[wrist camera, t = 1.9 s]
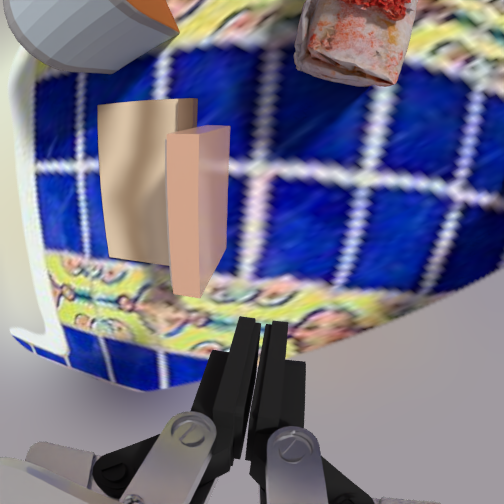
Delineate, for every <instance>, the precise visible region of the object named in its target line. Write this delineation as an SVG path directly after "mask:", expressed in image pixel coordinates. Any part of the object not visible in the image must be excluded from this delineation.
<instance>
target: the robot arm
mask: <svg viewBox="0 0 504 504" xmlns="http://www.w3.org/2000/svg"><path fill="white" fill-rule="evenodd" d="M260 330H261V323H255V318H248V317H241V316H240V317H239V320H238V323H237V327H236V330H235V334H234V337H233V341H232V344H231V348H230V351H229V352H223V351H217V350H212V352H211V354H210V357H209V360H208V363H207V366H206V368H205V371H204V374H203V377H202V380H201V383H200V386H199V388H198V391H197V394H196V397H195V400H194V403H193V406H192V408H191V411H190V412H182V413H179V414H177V415H175V416H174V417H172V418H171V419H170V420H169V421H168V423H167V424H166V426H165V428H164V429H163V431H162V432H161V434H158V435H156V436H154V437H151V438H149V439H146V440H143V441H141V442H138V443H136V444H133V445H130V446H128V447H125V448H122V449H119V450H117V451H114V452H111V453H108V454H106V455H104V456H100V455H95V454H94V452H89V451H84V450H79V449H74V448H70V447H65V446H61V445H56V444H52V443H48V442H38V443H35V444H34V445H32V446H31V447H30V449H29V451H28V453H27V456H26V459H25V461H24V460H19V459H15V458H9V457H0V504H207V503H208V501H209V499H210V497H211V494H212V492H213V490H214V488H215V485H216V483H217V481H218V478H219V476H221V475H223V474H225V473H227V472H228V471H229V470H230V466H233V461H234V458H235V459H240V457H241V453H242V448H243V443H244V438H245V432H246V427H247V422H248V417H249V412H250V419H249V428H248V439H247V448H246V458H245V460H248V461H251V466H250V473H249V474H250V475H251V476H252V478H253V479H254V480H255V481H256V482H257V483H258V495H259V504H440V503H438V502H434V501H417V500H404V499H394V498H386V497H382V498H381V499H377V498H371V497H370V496H369V495H368V494H367V493H365V492H364V491H363V490H362V489H360V488H359V487H358V486H357V485H355V484H354V483H353V482H352V481H350V480H349V479H348V478H347V477H346V476H344V475H343V474H342V473H341V472H340V471H338V470H337V469H336V468H335V467H334V466H333V465H331V464H330V463H329V462H328V461H327V460H326V459H324V458H323V457H322V456H321V453H320V447H319V443H318V441H317V438H316V437H315V436H314V435H313V434H312V433H311V432H310V431H308V430H307V429H304V411H305V376H306V364H305V362H302V361H292V360H285V357H286V345H287V332H288V322H281V321H273V322H272V325H270V324H266V326H265V332H264V338H263V344H262V350H261V355H260V361H259V367H258V372H257V378H256V370H257V360H258V350H259V340H260ZM255 379H256V383H255ZM254 385H255V389H254ZM253 390H254V395H253ZM252 396H253V400H252ZM251 401H252V405H251ZM250 407H251V411H250Z"/></svg>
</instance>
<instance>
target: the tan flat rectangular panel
mask: <svg viewBox="0 0 504 504" xmlns="http://www.w3.org/2000/svg"><path fill="white" fill-rule="evenodd" d="M177 130H178V99H164V100H146V101H133V102H122V103H113V104H104V105H98V148H99V167H100V181H101V193H102V203H103V212H104V221H105V229H106V237H107V244H108V250H109V257H113V258H120V259H126V260H133V261H140V262H147V263H154V264H160V265H167V266H170V265H169V251H168V235H167V216H166V188H165V139H167V134H169V133H173V132H177Z"/></svg>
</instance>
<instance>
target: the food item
mask: <svg viewBox="0 0 504 504" xmlns="http://www.w3.org/2000/svg"><path fill="white" fill-rule="evenodd" d="M417 2H418V0H307V1H306V2H305V3H304V5H303V8H302V14H301V17H300V21H299V25H298V30H297V35H296V40H295V46H294V47H295V49H296V52H295V53H294V61H295V65H296V69H297V70H299V71H303V72H305V73H308V74H310V75H313V76H314V77H317V78H321V79H324V80H328V81H333V82H338V83H343V84H348V85H352V86H371V85H377V86H384V87H386V86H391V85H394V84H395V83H396V82H397V79H398V76H399V73H400V71H401V67H402V64H403V61H404V58H405V55H406V52H407V49H408V45H409V41H410V37H411V32H412V25H413V22H414V19H415V14H416V6H417Z"/></svg>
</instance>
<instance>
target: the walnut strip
mask: <svg viewBox="0 0 504 504" xmlns="http://www.w3.org/2000/svg"><path fill="white" fill-rule="evenodd" d="M197 103H198V99H195V98H187V99H178V130H177V131H182V130H186V129H191V128H196V127H197Z"/></svg>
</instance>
